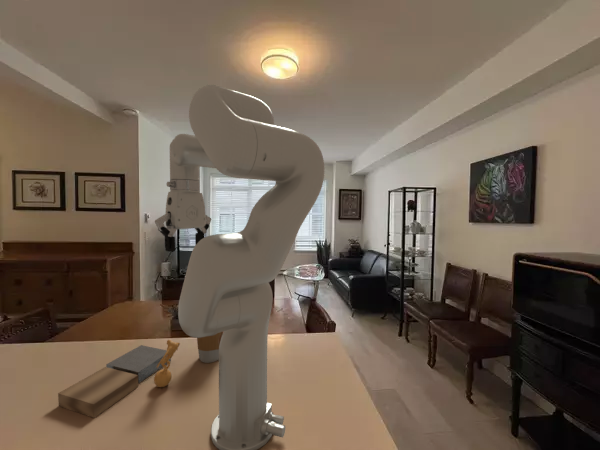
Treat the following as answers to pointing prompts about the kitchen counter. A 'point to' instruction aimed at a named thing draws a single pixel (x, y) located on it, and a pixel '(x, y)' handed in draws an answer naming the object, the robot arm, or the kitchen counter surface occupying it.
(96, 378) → the walnut stand
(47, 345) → the kitchen counter surface
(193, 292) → the robot arm
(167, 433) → the kitchen counter surface
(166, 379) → the figurine
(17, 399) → the kitchen counter surface
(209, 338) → the coffee cup
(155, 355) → the grey metal stand
